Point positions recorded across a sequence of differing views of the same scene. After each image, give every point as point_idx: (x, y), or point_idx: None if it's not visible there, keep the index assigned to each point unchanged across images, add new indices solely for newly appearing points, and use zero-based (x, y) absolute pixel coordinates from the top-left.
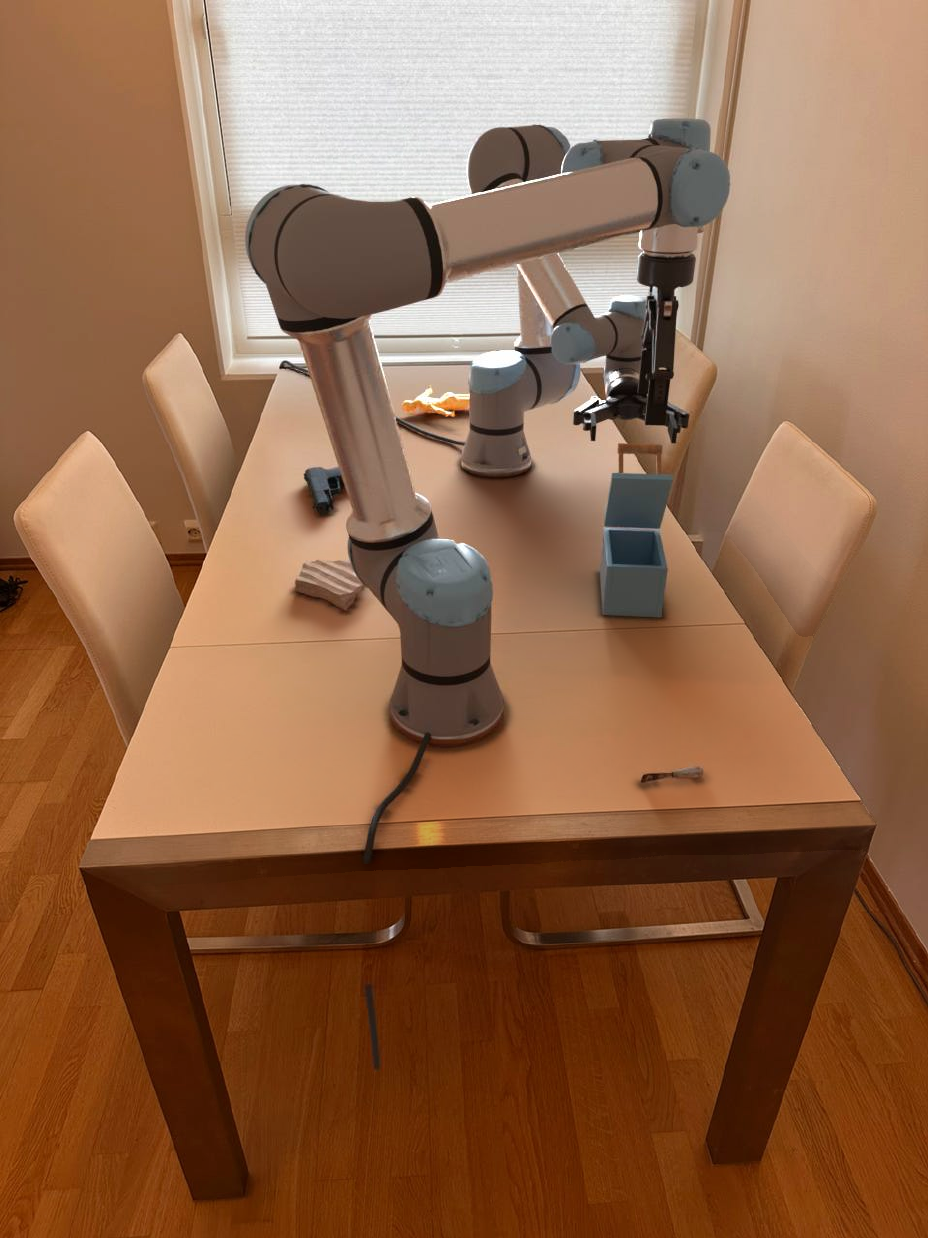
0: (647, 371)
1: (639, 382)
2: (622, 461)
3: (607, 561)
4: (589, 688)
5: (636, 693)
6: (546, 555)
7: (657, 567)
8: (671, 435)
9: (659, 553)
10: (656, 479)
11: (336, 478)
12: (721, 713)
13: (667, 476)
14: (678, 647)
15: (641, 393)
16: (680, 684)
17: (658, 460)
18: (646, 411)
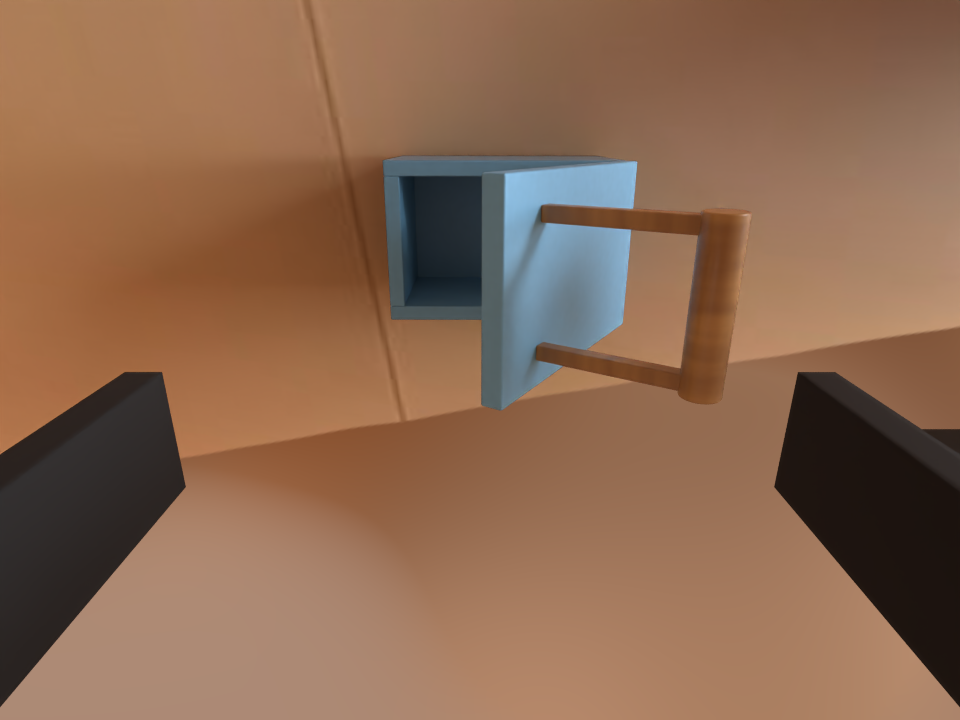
0: (895, 521)
1: (847, 413)
2: (640, 227)
3: (410, 162)
4: (108, 114)
5: (120, 212)
6: (702, 3)
7: (394, 295)
8: (951, 440)
9: (472, 307)
10: (482, 347)
11: None
12: (105, 357)
13: (491, 389)
14: (300, 308)
15: (796, 398)
16: (173, 298)
17: (638, 372)
18: (71, 413)
